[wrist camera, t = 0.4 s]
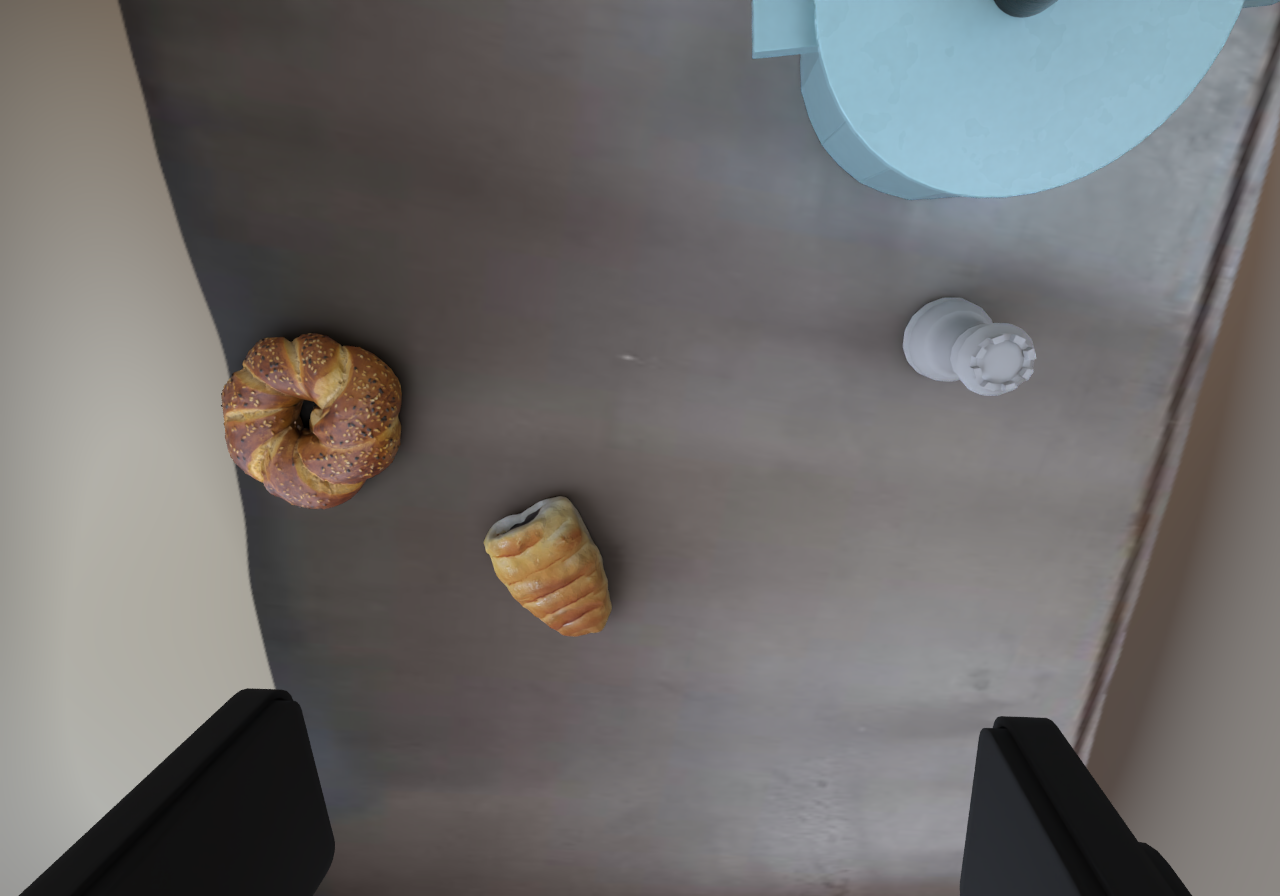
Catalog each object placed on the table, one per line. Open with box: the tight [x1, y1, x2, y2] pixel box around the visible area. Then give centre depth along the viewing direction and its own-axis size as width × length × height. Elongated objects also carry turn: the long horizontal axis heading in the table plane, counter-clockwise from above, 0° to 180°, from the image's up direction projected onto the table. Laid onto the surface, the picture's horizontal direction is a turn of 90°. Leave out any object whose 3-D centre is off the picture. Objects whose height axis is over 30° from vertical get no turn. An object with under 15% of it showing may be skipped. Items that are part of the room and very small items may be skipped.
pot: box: [752, 0, 1280, 200], centre depth 27 cm, size 14×19×8 cm
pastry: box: [484, 496, 612, 636], centre depth 40 cm, size 9×7×4 cm
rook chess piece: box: [903, 298, 1036, 396], centre depth 31 cm, size 4×4×8 cm
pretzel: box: [221, 333, 402, 509], centre depth 39 cm, size 12×11×4 cm
